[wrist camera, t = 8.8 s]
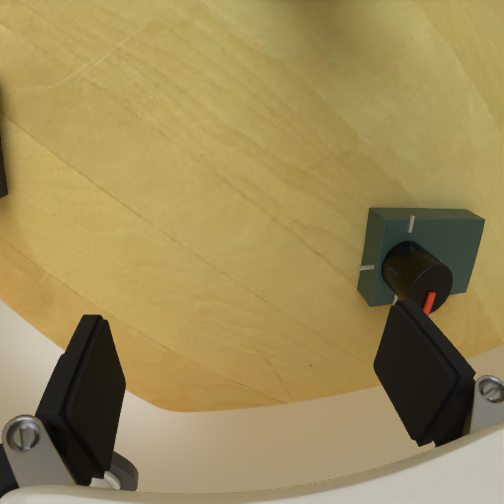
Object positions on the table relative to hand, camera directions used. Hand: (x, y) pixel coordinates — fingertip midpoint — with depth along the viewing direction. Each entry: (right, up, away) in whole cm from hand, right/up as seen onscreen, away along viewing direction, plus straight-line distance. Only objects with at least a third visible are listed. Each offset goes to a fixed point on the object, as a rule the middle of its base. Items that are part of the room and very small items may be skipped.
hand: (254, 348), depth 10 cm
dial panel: (+16, +3, +18) cm, 24 cm away
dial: (+13, +2, +15) cm, 20 cm away
